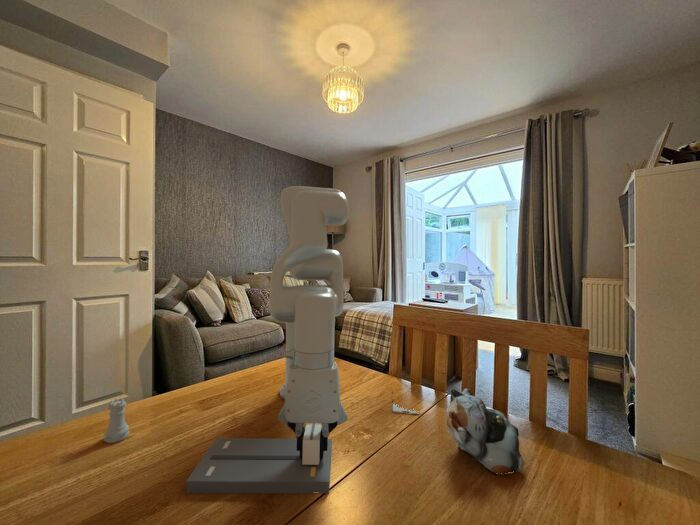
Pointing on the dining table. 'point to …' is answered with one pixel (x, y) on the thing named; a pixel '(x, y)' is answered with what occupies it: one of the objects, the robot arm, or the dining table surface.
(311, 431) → the fader
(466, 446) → the lucky cat figurine
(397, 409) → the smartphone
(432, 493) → the dining table surface
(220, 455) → the grey slotted panel
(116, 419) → the rook chess piece
